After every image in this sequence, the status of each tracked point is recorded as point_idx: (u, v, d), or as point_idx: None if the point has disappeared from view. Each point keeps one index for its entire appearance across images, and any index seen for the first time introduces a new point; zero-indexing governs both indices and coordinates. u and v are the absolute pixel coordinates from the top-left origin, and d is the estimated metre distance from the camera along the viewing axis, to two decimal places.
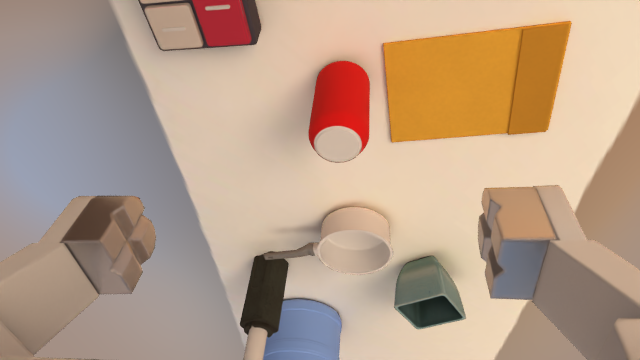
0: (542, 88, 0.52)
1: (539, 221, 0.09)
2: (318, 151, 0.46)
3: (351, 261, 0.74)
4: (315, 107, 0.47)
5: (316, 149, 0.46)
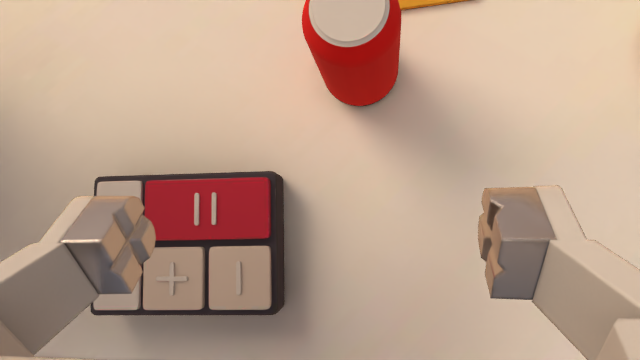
0: None
1: (539, 221, 0.09)
2: (360, 38, 0.26)
3: None
4: (324, 69, 0.30)
5: (356, 42, 0.26)
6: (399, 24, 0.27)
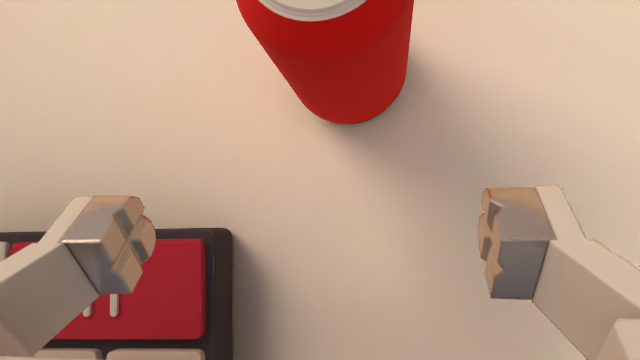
0: None
1: (539, 221, 0.09)
2: (337, 3, 0.13)
3: None
4: (281, 67, 0.17)
5: (330, 11, 0.13)
6: None
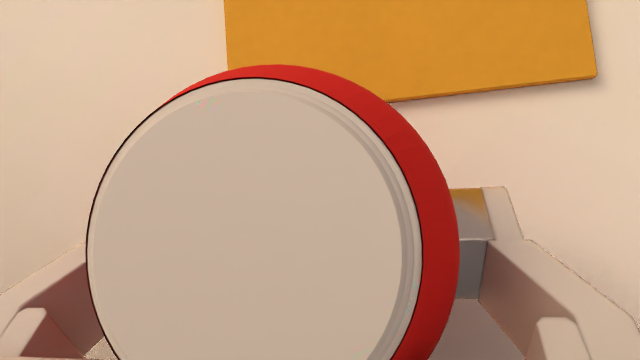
0: None
1: (480, 222, 0.09)
2: None
3: None
4: None
5: None
6: (455, 288, 0.07)
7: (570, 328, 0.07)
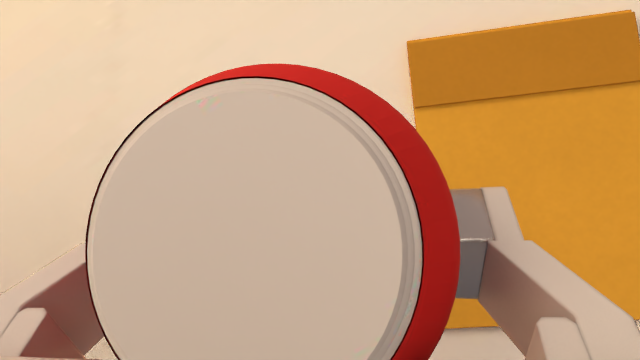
0: (528, 47, 0.29)
1: (480, 222, 0.09)
2: None
3: None
4: None
5: None
6: (455, 288, 0.07)
7: (570, 327, 0.07)
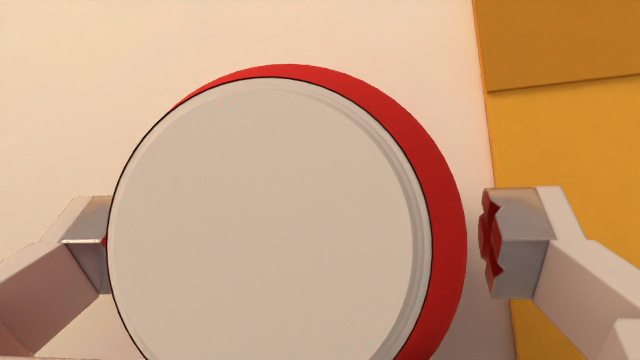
0: None
1: (539, 221, 0.09)
2: None
3: None
4: None
5: None
6: (463, 280, 0.07)
7: None
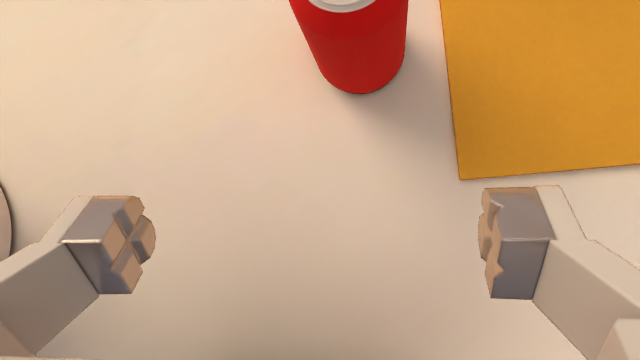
0: None
1: (539, 221, 0.09)
2: (358, 1, 0.21)
3: None
4: (315, 45, 0.25)
5: (354, 6, 0.21)
6: None
7: None
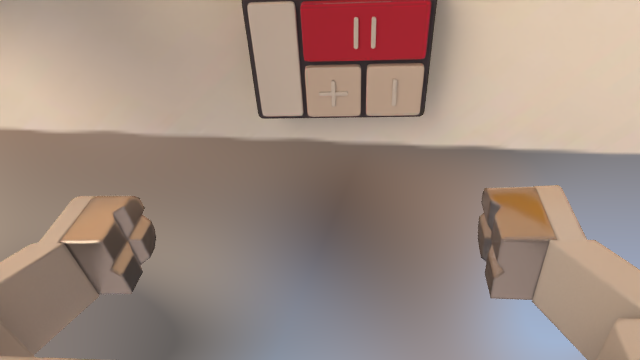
0: None
1: (539, 221, 0.09)
2: None
3: None
4: None
5: None
6: None
7: None
